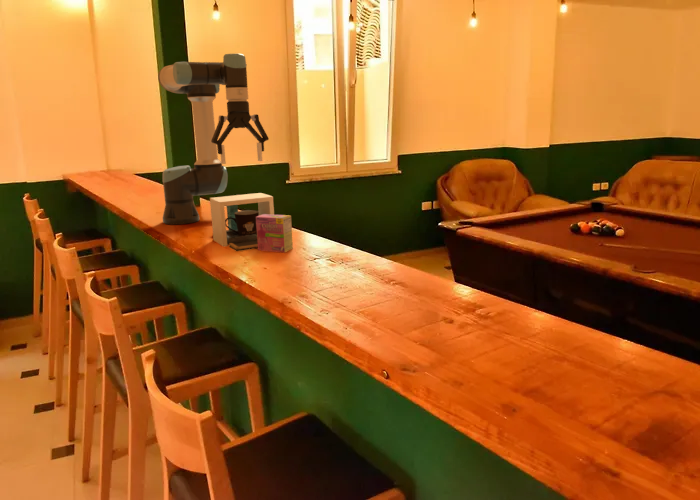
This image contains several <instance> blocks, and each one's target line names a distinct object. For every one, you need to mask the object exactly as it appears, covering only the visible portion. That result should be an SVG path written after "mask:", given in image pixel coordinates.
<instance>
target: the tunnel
mask: <svg viewBox="0 0 700 500" xmlns="http://www.w3.org/2000/svg"><path fill="white" fill-rule="evenodd" d="M247 204H257V207H258V210H257V211H259V215H263V214H271V215H275V207H274V206H275V204H274V196H272V195H270V194H266V193H262V192H258V193H255V192H254V193H247V194H246V193H245V194H236V195H234V194H233V195H225V196H217V197H215V196H214V197H209V205H210V215H211V227H212V237H213V238H212V239H213V241H214V242H215V243H217V244H218V245H220V246H222V247H228V244H227V234H226V230H227V227H226V225H227V221H226V222H225V220H226V214H225V213H226V212H225V207H227V206H230V205H247Z"/></svg>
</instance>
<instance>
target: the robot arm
mask: <svg viewBox="0 0 700 500" xmlns="http://www.w3.org/2000/svg"><path fill="white" fill-rule="evenodd" d="M222 58H223V62H219V61H218V62H216V61H215V62H214V61H212V62H211V61H210V62H209V61H208V62H207V61H205V62H203V61H201V62H200V61H176V62H174V63H173V64H169V65H165V66H163V67H161V68H160V70H159V72H158V75H157V78H158V83H159V84H160V86H161V87H162V88H163V89H164V90H166V91H168V92H171V93H174V94H182V95H184V94H186V95H187V99H188V101H190V103H191V107H192V119H193V127H194V128H193V129H194V136H195V137H194V138H195V140H194V141H195V149H196V158H197V159H196V161H195V162H194V164H193V165H194V166H193V167H194V168H191V166H190V165H177V166H174V167H168V168H166V169H164V170H163V171H162V184H163V185H162V186H163V193H164V195H163V196H164V202H165V205H164V210H163V214H162V223H163V224H164V223H165V225H185V224H192V223H197V222H199V221H200V215H199V212H198V210H197V207H196V204H195V202H194V197H195V196H206V195H216V194H221V193H223V192H225V190H226V189H227V186H228V177H229V175H228V171H227V167H226V166H224V165H226V164H227V161H226V152H225V144H223V143H224V142H225V140H226V139H227V137H228V136H229V135H230V133H232V130H233V129H245V128H246V129H247V131H249V132H250V133H251V134H252V135H253V137H254V138H255V139H256V140H257V142H256V154H257V155H256V156H257V161H259V162H263V152H265V142H266V141H269V136H268V134H267V132H266V131H265V129H264V127H263V124H262V123H261V121H260V118H259V117H260V116H259V114H253V115H251V114H250V104H249V103H250V102H249V101H247V100H249V91H248V89H249V88H248V72H247V60H246V56H245V55H244V54H243V53H225V54H224V55H223V57H222ZM220 85H221V86H225V97H226V100H227V102H226V109H227V115H226V116H225V115H218V122H217V125H216V124H215V113H214V103H213V102H214V101H215V99H216V97H217V94H219V92H220ZM251 120H252V122H254V124H255V126H256V129H257V131H256V129H255V128H254V127H253V126H252V125H251V123H250V121H251ZM226 121H227V122H228V124H227V125H226V128H225V129H224V131H223V132H222V130H223V127H224V124H225V122H226ZM221 132H222V134H221ZM258 132H259V133H258ZM220 134H221V135H220ZM218 155H220V159H219V157H218Z"/></svg>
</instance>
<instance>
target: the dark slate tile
mask: <svg viewBox="0 0 700 500" xmlns="http://www.w3.org/2000/svg"><path fill="white" fill-rule="evenodd" d="M228 247H229V248H231V249H233V250H234V251H235V252H241V251H242V252H243V251H247V250H255V249H258V242H257V241H254V242H247V243H240V244H233V243H229V245H228Z"/></svg>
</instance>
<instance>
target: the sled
mask: <svg viewBox="0 0 700 500" xmlns="http://www.w3.org/2000/svg"><path fill="white" fill-rule="evenodd" d="M238 211H239V206H238V205H230V206H226V215H227V217H226V218H229V217H232V218H235V214H234V213H235V212H238ZM227 226H228V227H229V228H231V229H233V230H235V231H237V232H238V229H237V224H236V223H235V221H234V220H233V219H228V220H227ZM229 228H227V229H226V234H227V246H229V243H233V244H240V243H247V242H254V241H257V234H251V235H243V236H239V235H238V234H237V233H236V232H234V231H232V230H230V229H229Z"/></svg>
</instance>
